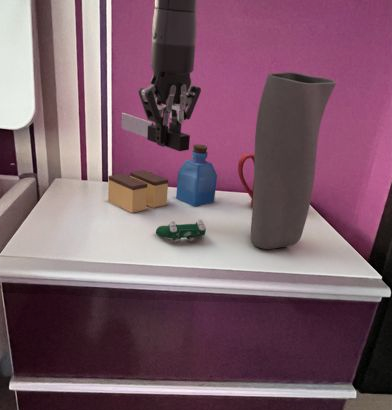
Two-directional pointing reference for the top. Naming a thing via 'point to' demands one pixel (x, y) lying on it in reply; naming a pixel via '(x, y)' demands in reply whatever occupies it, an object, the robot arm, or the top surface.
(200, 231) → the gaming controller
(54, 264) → the top surface
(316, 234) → the top surface
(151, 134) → the knife
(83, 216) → the top surface
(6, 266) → the top surface
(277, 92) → the vase
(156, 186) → the cake
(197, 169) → the perfume bottle
